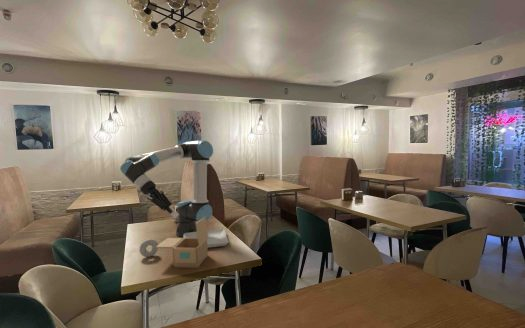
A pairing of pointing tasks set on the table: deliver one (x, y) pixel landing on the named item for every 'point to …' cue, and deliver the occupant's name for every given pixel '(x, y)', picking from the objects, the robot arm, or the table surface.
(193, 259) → the carton
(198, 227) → the flap
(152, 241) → the donut
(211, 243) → the square plate
